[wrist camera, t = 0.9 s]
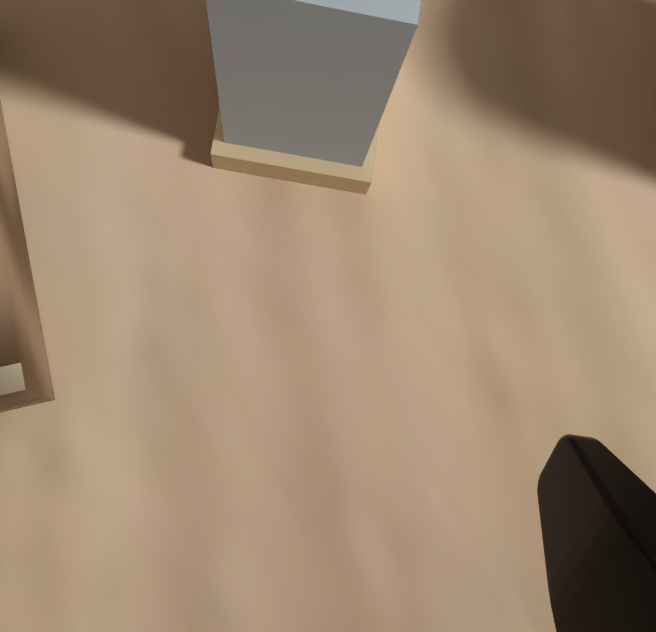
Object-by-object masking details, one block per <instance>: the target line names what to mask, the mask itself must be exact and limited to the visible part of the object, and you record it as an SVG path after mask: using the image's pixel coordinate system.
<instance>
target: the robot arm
mask: <svg viewBox="0 0 656 632" xmlns="http://www.w3.org/2000/svg"><path fill="white" fill-rule="evenodd" d="M537 493H538V503H539V511H540V520H541V529H542V537H543V546H544V555H545V563H546V572H547V581H548V589H549V595H550V602H551V608H552V613H553V618H554V623H555V627H556V631H557V632H656V493H655V492H654V491H653V490H652V489H650V488H649V487H648V486H647V485H646V484H645V483H644V482H643V481H642V480H641V479H640V478H639V477H638V476H636V475H635V474H634V473H633V472H632V471H631V470H630V469H629V468H628V467H627V466H626V465H625V464H624V463H622V462H621V461H620V460H619V459H618V458H617V457H616V456H615V455H614V454H613V453H612V452H611V451H610V450H608V449H607V448H606V447H605V446H604V445H603V444H602V443H601V442H600V441H598V440H597V439H594V438H591V437H585V436H578V435H571V434H568V435H564V436H563V437H562V438H560V440H559V441H558V443H557V444H556V446H555V448H554V450H553V452H552V454H551V456H550V457H549V459H548V461H547V463H546V465H545V467H544V468H543V470H542V472H541V474H540V477H539V480H538V487H537Z"/></svg>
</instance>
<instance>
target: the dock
mask: <svg viewBox="0 0 656 632" xmlns="http://www.w3.org/2000/svg"><path fill="white" fill-rule="evenodd" d="M51 400H55V399H54V393H53V388H52V382H51V377H50V371H49V366H48V360H47V355H46V349H45V344H44V338H43V333H42V327H41V322H40V316H39V311H38V305H37V300H36V294H35V289H34V283H33V278H32V272H31V267H30V261H29V256H28V250H27V245H26V239H25V234H24V228H23V223H22V217H21V212H20V206H19V201H18V195H17V190H16V184H15V179H14V173H13V168H12V162H11V157H10V151H9V146H8V140H7V135H6V129H5V124H4V118H3V113H2V107H1V102H0V412H4V411H8V410H12V409H17V408H21V407H25V406H30V405H34V404H38V403H43V402H47V401H51Z"/></svg>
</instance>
